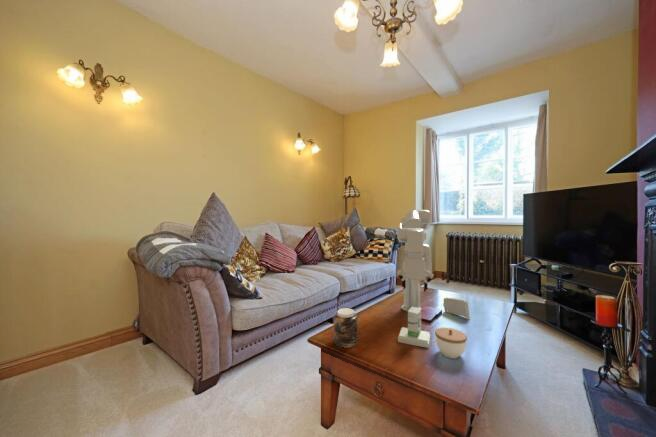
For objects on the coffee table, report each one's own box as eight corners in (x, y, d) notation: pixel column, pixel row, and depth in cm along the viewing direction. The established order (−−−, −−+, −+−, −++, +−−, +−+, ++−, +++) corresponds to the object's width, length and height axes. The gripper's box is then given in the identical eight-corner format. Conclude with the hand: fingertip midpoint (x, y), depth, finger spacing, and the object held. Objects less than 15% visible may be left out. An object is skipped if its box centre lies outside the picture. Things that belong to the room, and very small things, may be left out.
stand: (401, 332, 136) (401, 326, 136) (430, 337, 131) (430, 331, 130) (397, 341, 126) (397, 335, 126) (428, 348, 120) (428, 341, 120)
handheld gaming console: (446, 314, 166) (470, 319, 154) (444, 315, 165) (467, 320, 152) (444, 296, 167) (467, 299, 155) (442, 297, 166) (465, 300, 153)
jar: (333, 336, 132) (333, 306, 132) (356, 336, 132) (356, 307, 131) (333, 348, 120) (333, 315, 120) (358, 348, 120) (359, 316, 120)
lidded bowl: (451, 364, 107) (452, 338, 107) (428, 350, 119) (429, 326, 119) (473, 358, 112) (473, 332, 112) (449, 344, 124) (449, 321, 124)
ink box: (417, 338, 123) (418, 313, 123) (407, 335, 126) (407, 311, 126) (421, 331, 131) (421, 308, 131) (411, 329, 133) (411, 306, 133)
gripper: (395, 255, 128) (395, 289, 128) (433, 257, 121) (433, 294, 121) (398, 252, 134) (397, 285, 135) (434, 255, 127) (433, 289, 128)
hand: (414, 289), depth 128 cm, fingers open, 9 cm apart
